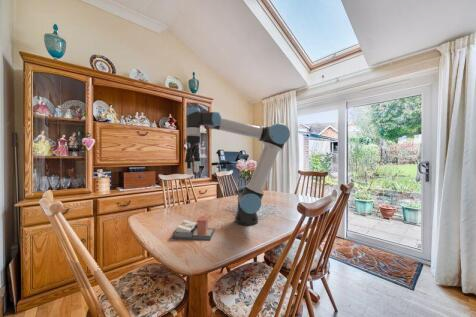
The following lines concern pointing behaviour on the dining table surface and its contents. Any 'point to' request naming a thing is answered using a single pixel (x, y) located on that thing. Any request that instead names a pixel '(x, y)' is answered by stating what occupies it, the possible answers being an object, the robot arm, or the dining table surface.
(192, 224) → the rocker
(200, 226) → the lockout cap
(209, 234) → the breaker panel
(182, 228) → the rocker
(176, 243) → the dining table surface
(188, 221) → the rocker
